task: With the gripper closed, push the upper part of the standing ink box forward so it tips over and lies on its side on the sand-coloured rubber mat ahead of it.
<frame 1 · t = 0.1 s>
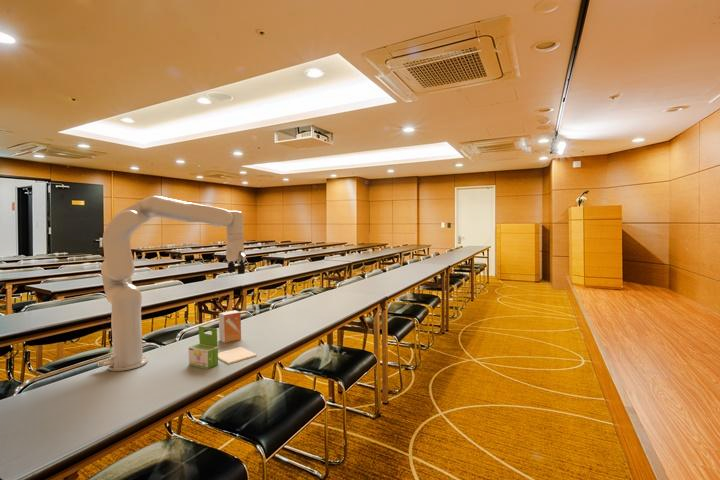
hand: (236, 273, 167), 31 cm above the table, tool pointing down, fingers open, 9 cm apart
small box: (230, 340, 165), on the table
ink box: (203, 365, 134), on the table
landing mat: (234, 355, 143), on the table
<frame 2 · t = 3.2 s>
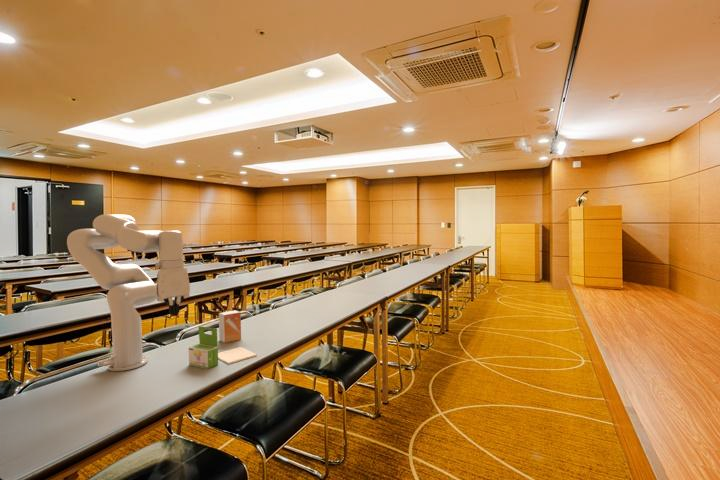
hand: (174, 315, 127), 21 cm above the table, tool pointing down, fingers closed
nothing on the table moved.
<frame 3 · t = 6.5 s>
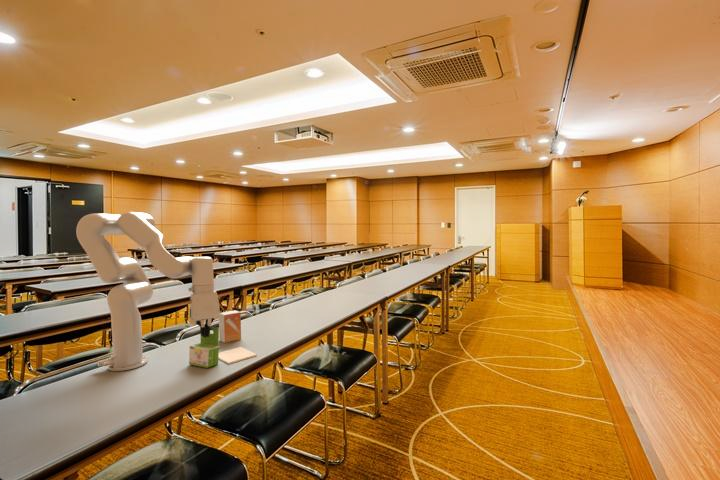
hand: (205, 336, 135), 11 cm above the table, tool pointing down, fingers closed
ink box: (203, 364, 134), on the table, touching gripper
everything else where it was.
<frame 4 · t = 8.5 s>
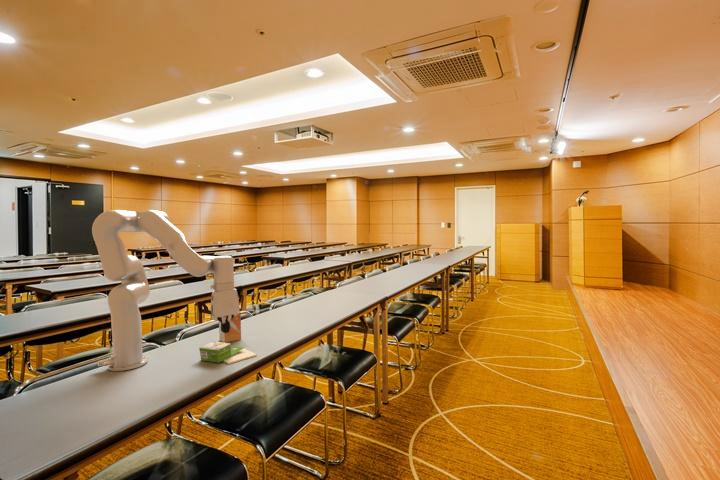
hand: (225, 332, 141), 11 cm above the table, tool pointing down, fingers closed
ink box: (208, 355, 136), point 3 cm above the table, touching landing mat
everything else where it was.
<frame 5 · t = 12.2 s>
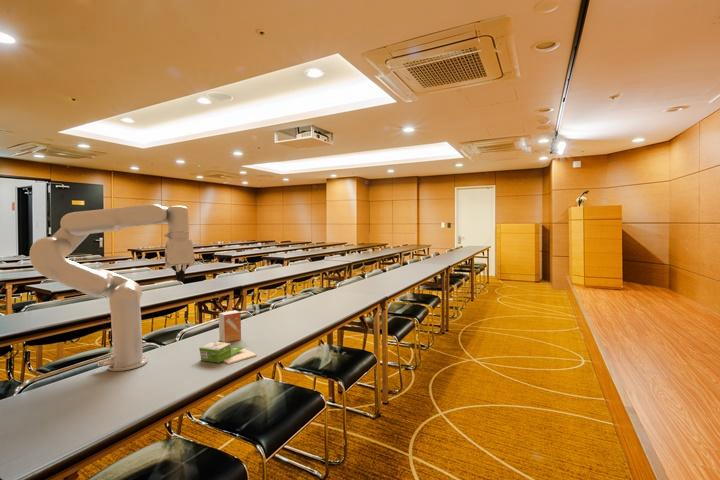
hand: (180, 281, 143), 31 cm above the table, tool pointing down, fingers closed
nothing on the table moved.
at the end: ink box tilted 84°; ink box inside the target area (6.9 cm from its centre), point 2.6 cm above the table; ink box touching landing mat, table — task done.
